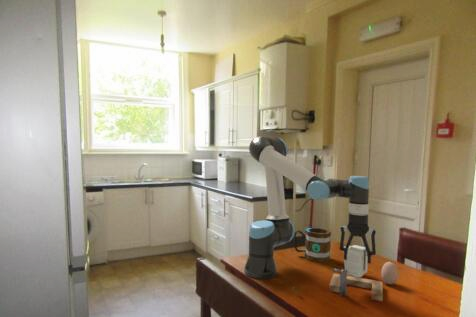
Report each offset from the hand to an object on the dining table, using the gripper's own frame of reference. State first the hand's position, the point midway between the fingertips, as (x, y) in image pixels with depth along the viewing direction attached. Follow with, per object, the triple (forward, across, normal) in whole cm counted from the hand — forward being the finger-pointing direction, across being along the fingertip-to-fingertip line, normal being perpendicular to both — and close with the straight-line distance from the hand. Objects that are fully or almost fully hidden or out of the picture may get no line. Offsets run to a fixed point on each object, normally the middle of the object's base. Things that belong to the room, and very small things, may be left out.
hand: (356, 269), depth 129 cm
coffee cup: (+9, -3, +21) cm, 23 cm away
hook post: (+9, -6, -6) cm, 13 cm away
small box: (+2, 0, 0) cm, 2 cm away
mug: (+9, -25, +34) cm, 43 cm away
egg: (+9, +13, +15) cm, 22 cm away
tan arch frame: (+9, 0, +2) cm, 9 cm away
